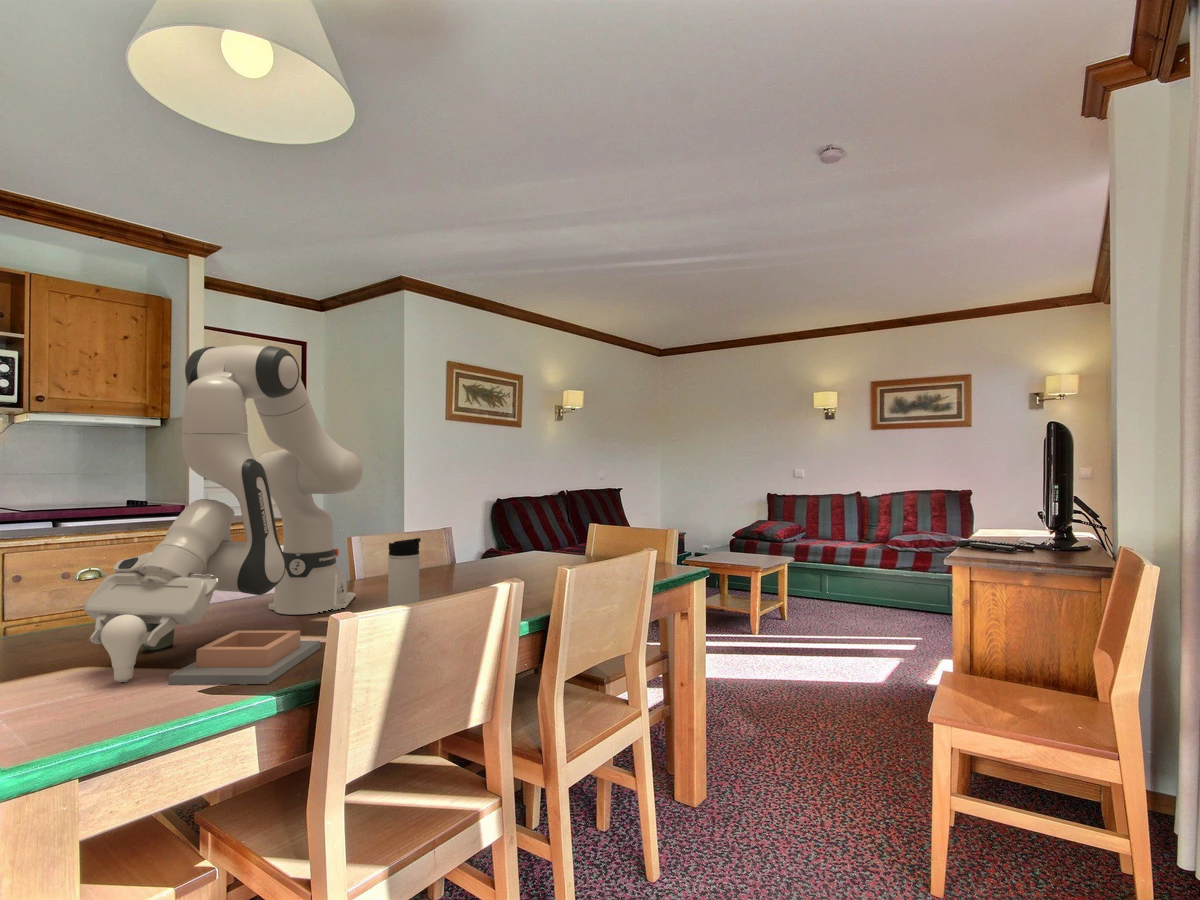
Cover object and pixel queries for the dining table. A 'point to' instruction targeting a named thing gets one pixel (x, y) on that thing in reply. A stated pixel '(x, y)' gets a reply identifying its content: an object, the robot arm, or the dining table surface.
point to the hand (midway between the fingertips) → (121, 643)
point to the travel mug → (403, 572)
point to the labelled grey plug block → (162, 643)
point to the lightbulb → (123, 643)
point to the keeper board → (246, 658)
